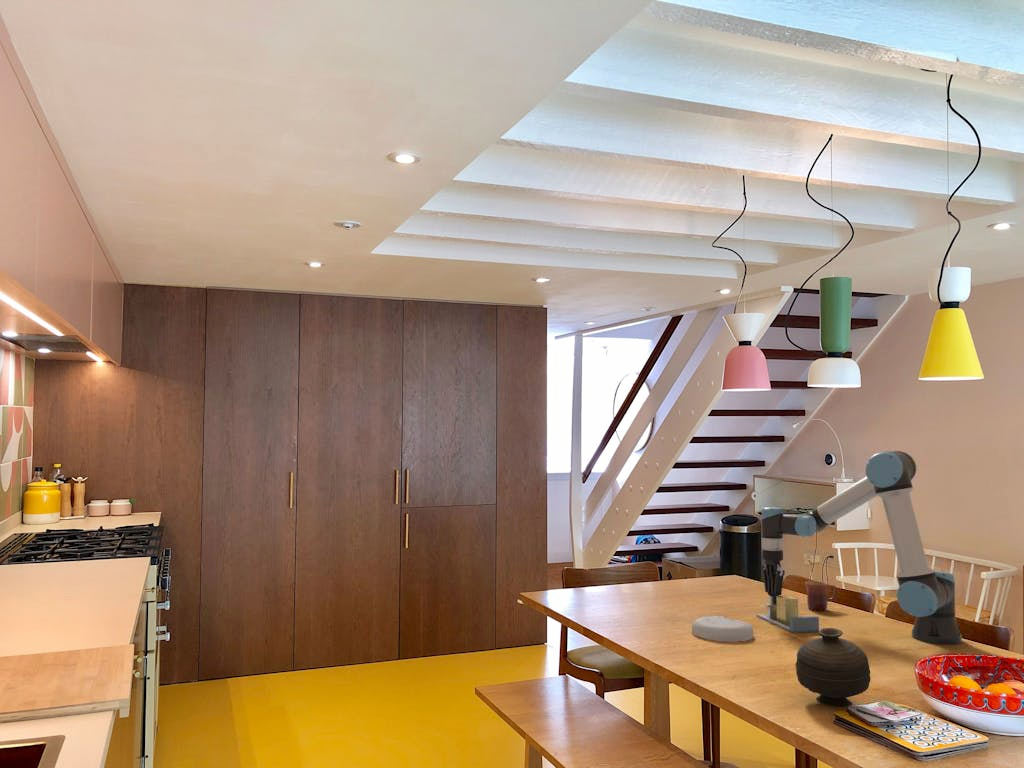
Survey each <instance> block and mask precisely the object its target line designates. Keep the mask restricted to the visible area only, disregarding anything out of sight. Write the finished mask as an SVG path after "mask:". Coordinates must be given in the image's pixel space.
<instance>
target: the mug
mask: <svg viewBox="0 0 1024 768" xmlns="http://www.w3.org/2000/svg"><path fill="white" fill-rule="evenodd" d="M804 583H805V586H806V593H807V597H806V603H807V604H806V605H807V607H808V609H809V610H810V609H812V610H811V611H814V610H818V611H817V612H823V610H824V611H826V610H827V609H828V603H829V602H831V601H832V602H833V601H834V600H835V598H837V596H838V595H837V594H838V588H837V587H836V585H833V584H829V583H828V582H826V581H821V580H820V581H818V580H808V581H805V582H804ZM831 588H833V589H834V590H833V591H834V593H833V596H832V597H828V590H829V589H831Z"/></svg>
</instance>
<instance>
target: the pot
mask: <svg viewBox="0 0 1024 768" xmlns="http://www.w3.org/2000/svg"><path fill="white" fill-rule="evenodd" d="M817 635H819V636H820V637H816V638H812V639H811V640H808V641H806V642H805V643H804V644H802V646H800V647H799V648H798V651H797V652H796V661H795V664H794V666H795V673H796V676H797V680H798V683H799V684H800V685H801V686H802V687H804V688H806V689H808V691H809V692H812V693H814V694H818V696H817V697H816V698H815V700H816V701H817V702H818V703H820V704H821V705H822V704H823V705H824V706H830V707H839V708H845V707H850V706H849V705H851V706H852V705H853V702H852V701H851V700H849V698H850V697H856V696H859V695H860V694H863V693H864V692H866V691H867V690H868V689H869V687H870V682H871V669H870V664H869V658H868V656H867V654H866V653H865V651H864V650H863V649H862V648H860V646H859V645H856V644H855V643H854V642H852V641H850V640H847V639H845V638H841V637H842V635H843V630H841V629H838V628H836V627H834V628H833V627H823V628H821V629H819V632H817Z"/></svg>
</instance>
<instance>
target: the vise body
mask: <svg viewBox="0 0 1024 768" xmlns="http://www.w3.org/2000/svg"><path fill="white" fill-rule="evenodd" d="M756 618H759V619H761V620H763V621H766V622H768V623H770V624H773V625H774V626H777V627H779V628H781V629H784V630H786V631H788V632H790V633H818V632H819V631H820V617H819V616H817V615H803V616H799V615H798V617H790V625H784V624H782V623H780V622H778V621H777V619H770V618H768V617H767V614H760V613H756Z"/></svg>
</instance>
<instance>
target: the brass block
mask: <svg viewBox="0 0 1024 768" xmlns="http://www.w3.org/2000/svg"><path fill="white" fill-rule="evenodd" d="M790 617H799V599H798V598H797V597H794V596H791V595H779V596H777V621H778V622H780V623H782V624H784V625H790Z"/></svg>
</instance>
